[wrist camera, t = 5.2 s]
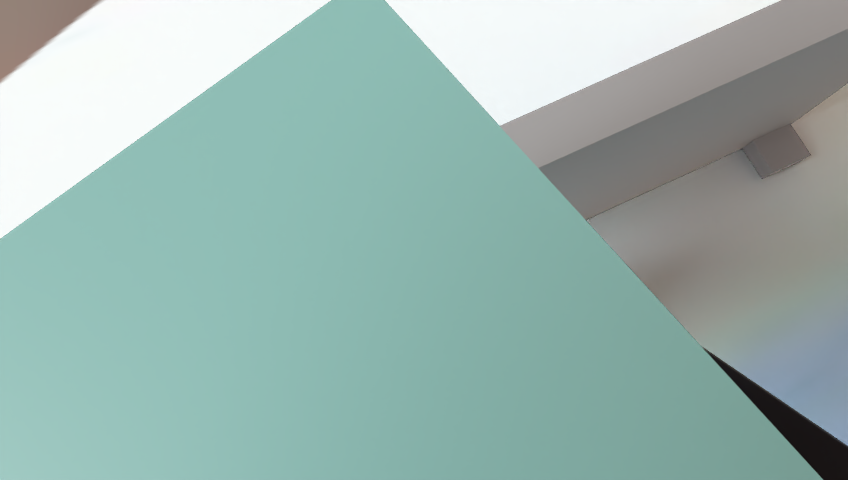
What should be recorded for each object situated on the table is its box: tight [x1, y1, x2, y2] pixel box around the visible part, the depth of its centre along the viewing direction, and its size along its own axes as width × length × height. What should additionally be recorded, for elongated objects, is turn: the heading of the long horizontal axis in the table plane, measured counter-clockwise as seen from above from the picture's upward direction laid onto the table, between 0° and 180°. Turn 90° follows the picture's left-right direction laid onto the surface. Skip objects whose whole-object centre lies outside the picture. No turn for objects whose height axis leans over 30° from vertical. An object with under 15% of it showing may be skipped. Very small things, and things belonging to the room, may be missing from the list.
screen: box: [500, 0, 848, 220], centre depth 17 cm, size 4×14×10 cm, turn 114°
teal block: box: [0, 0, 823, 480], centre depth 8 cm, size 5×5×12 cm
